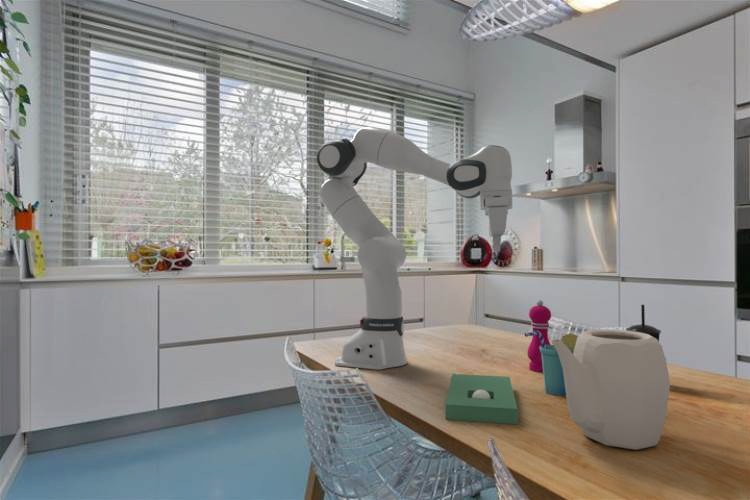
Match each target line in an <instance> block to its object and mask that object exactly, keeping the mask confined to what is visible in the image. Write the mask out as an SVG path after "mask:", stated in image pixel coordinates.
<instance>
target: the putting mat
mask: <svg viewBox="0 0 750 500" xmlns="http://www.w3.org/2000/svg"><path fill="white" fill-rule="evenodd" d="M477 390H485V391H486V392H488V394H489V395H490V398H491V399H482V398H472V395H473V393H474V392H475V391H477ZM518 412H519V411H518V406H517V401H516V397H515V394H514V389H513V385H512V380H511V377H510V376H503V375H502V376H501V375H500V376H499V375H483V374H482V375H481V374H465V373H463V374H461V373H452V374H451V378H450V382H449V387H448V392H447V396H446V401H445V420H451V421H452V420H453V421H465V422H466V421H467V422H478V423H479V422H480V423H492V424H493V423H495V424H506V425H507V424H508V425H509V424H510V425H519V423H518V422H519V416H518Z"/></svg>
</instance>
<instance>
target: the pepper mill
mask: <svg viewBox="0 0 750 500" xmlns="http://www.w3.org/2000/svg"><path fill="white" fill-rule="evenodd" d="M528 317H529V319H530V320H531V322H530V324H531V325H530V327H531V328H532V332H533V331H539V332H540V333H541V334H542V336H543V339H544V342H545V345H552V344H551V341H550V339H549V334H548V333H549V332H548V331H549V329H550V322H549V321H550V320H551V318H552V312H551V310H550V309H549V307H547V306H544V302H543V300H541V299H538V300H537V301H536V305H535V306H532V307H531V308H530V309H529V313H528ZM531 337H532V338H531V341H530V343H529V346H528V348H527V353H526V354H527V355H526V356H527V357H528V359H529V360H530V362H529V363H528V364H529V365H528V367H529V370H530V371H532V372H537V373H543V365H542V355H541V352H540V346H542V343H541V340H540V338H539V335H538V334H536V335H532V336H531Z"/></svg>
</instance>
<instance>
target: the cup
mask: <svg viewBox="0 0 750 500" xmlns="http://www.w3.org/2000/svg"><path fill="white" fill-rule="evenodd" d="M536 334H538V335H539V338H540V340H541V343H542V346H540V352H541V355H542V365H543V372H542V374H543V381H544V383H543V384H544V390H545V393H546V394H549V395H553V396H562V397H563V396H566V389H565V382H564V374H563V368H562V365H561V362H560V358H559V355H558V352H557V350H556V349H555V347H554V345H553V344H551V345H545V342H544V339H543V336H542V334H541V333H540V332H539V331H533V330H532V331H529V332H527V333H524V336H525V337H526V338H527V337H530V336H531V337H533V335H536ZM578 336H579V335H576V334H574V333H571V332H568V333H567V334H564V335H562V336H561V339H560V340H561V341H562V342H563V343H564V344H565V345H566V346H567V347H568V349H569V350H570V351H571V352H572V354H573V352H574V349H575V345H576V341H577V337H578Z"/></svg>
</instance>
